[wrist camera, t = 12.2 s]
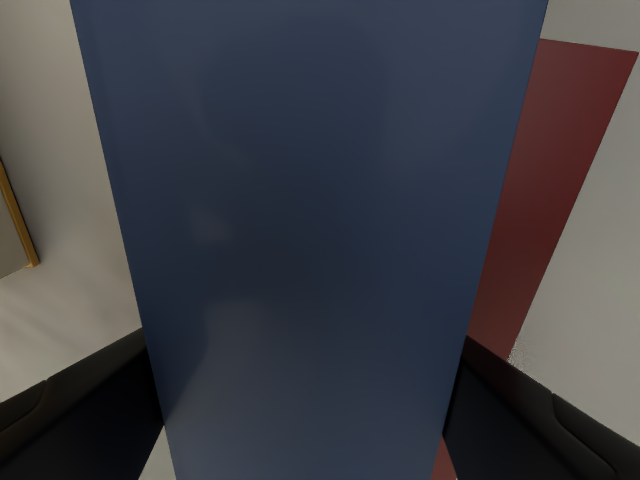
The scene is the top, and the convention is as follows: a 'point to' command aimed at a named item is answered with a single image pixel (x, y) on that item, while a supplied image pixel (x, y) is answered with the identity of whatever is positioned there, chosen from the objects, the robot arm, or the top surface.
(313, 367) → the middle book
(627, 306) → the top surface
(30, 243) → the top book
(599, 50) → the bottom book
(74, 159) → the top surface
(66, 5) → the top surface
